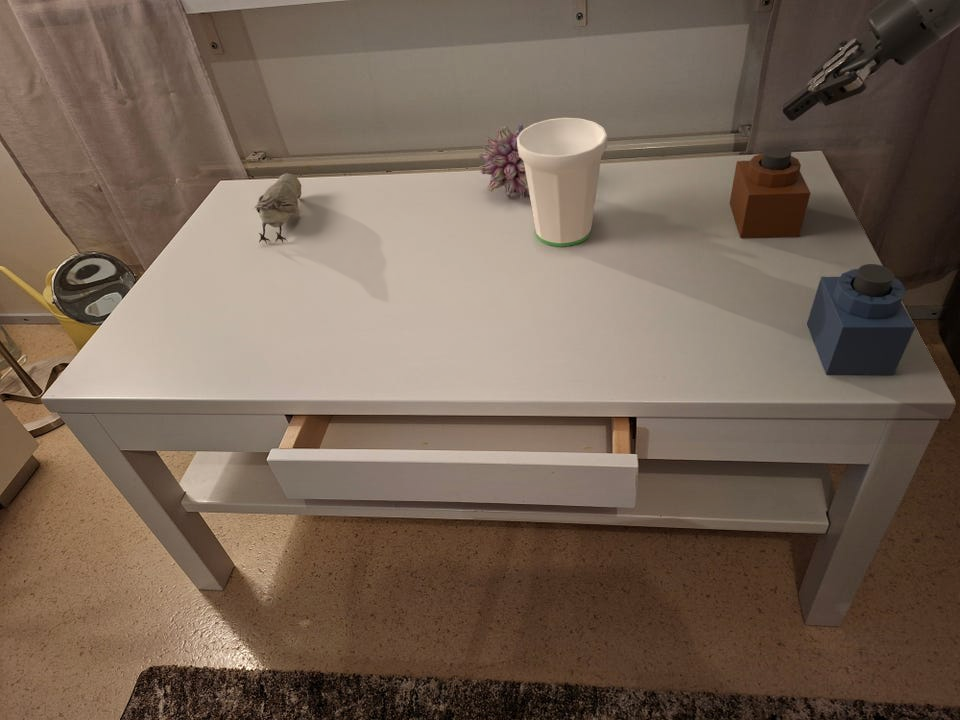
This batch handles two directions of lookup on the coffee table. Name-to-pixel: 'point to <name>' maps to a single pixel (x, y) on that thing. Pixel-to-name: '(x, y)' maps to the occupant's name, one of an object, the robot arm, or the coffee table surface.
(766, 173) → the brown block with collar
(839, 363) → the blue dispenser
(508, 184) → the flower
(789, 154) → the grey round disc
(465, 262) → the coffee table surface
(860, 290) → the dark grey round cap
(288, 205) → the decorative bird
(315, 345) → the coffee table surface
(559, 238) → the cup
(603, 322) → the coffee table surface
